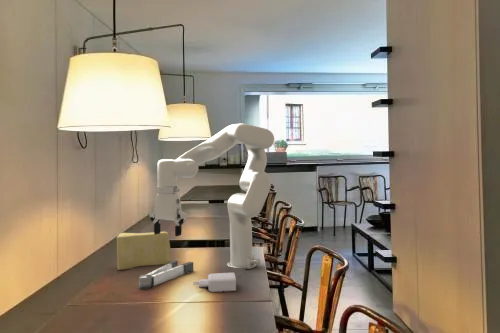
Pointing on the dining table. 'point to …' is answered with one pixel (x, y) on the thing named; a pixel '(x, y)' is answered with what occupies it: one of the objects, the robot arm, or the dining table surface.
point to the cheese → (142, 249)
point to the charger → (218, 282)
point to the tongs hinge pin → (145, 281)
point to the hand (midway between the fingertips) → (167, 234)
